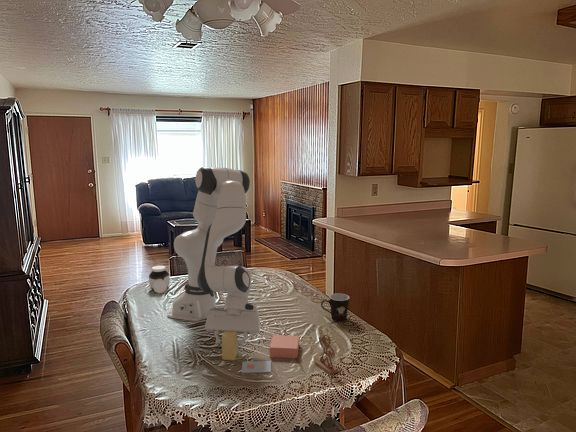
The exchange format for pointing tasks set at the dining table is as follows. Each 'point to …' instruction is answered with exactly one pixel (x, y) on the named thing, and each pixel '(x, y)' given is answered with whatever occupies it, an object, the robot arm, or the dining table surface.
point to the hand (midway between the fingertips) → (229, 344)
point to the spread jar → (159, 279)
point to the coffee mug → (338, 306)
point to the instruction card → (256, 366)
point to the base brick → (284, 346)
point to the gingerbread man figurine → (322, 362)
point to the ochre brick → (229, 345)
